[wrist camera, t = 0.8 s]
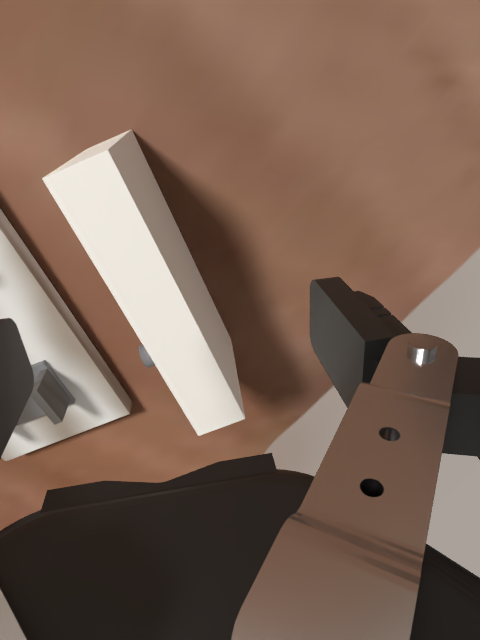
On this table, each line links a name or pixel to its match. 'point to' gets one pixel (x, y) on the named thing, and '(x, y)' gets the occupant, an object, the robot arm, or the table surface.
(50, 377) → the cabinet side
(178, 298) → the door
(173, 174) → the table surface
